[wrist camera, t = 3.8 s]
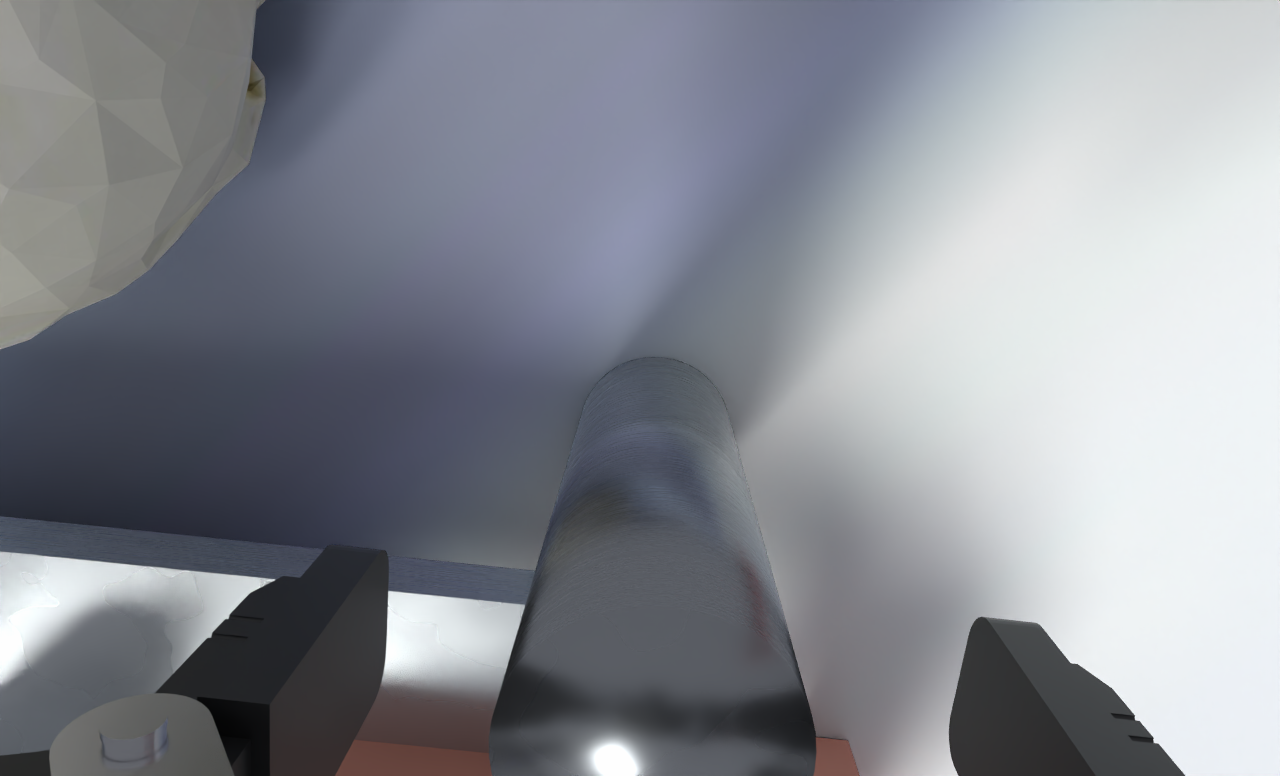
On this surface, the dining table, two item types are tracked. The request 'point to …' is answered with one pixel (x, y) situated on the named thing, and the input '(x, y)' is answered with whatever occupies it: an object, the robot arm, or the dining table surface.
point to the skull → (113, 141)
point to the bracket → (426, 772)
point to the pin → (653, 604)
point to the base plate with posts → (205, 596)
